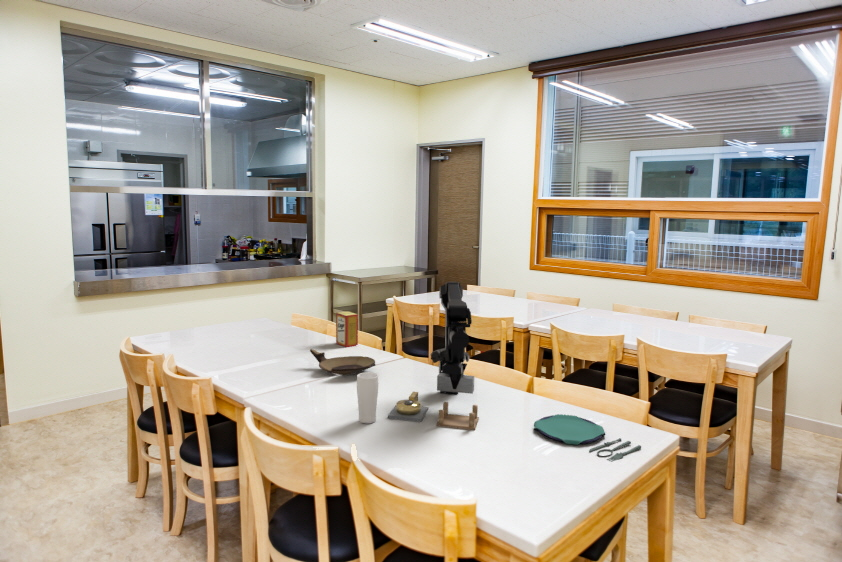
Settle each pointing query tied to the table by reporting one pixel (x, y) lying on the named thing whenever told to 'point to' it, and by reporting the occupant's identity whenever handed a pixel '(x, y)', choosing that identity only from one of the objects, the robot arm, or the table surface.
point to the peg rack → (458, 419)
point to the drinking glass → (367, 396)
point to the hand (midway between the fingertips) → (455, 387)
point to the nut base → (413, 417)
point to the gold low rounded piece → (409, 405)
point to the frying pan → (343, 363)
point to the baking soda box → (346, 329)
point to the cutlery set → (577, 432)
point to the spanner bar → (463, 386)
